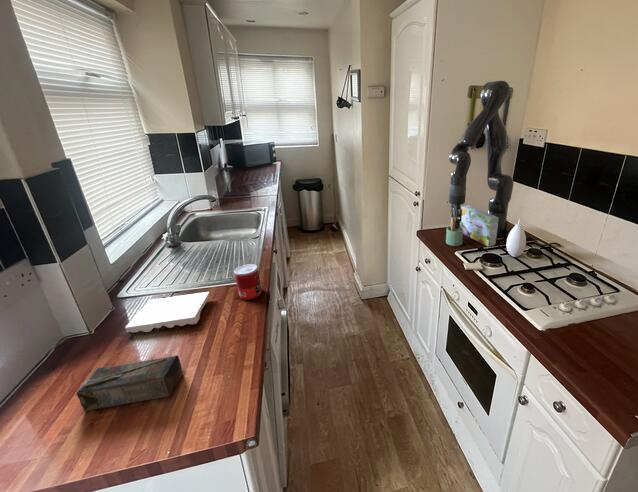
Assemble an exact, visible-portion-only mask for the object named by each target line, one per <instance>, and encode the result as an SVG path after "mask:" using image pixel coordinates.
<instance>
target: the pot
mask: <svg viewBox="0 0 638 492" xmlns="http://www.w3.org/2000/svg"><path fill="white" fill-rule="evenodd" d="M445 230H446V233H445V243H446V244H447V245H448V246H451V247H459V246H461V245H463V243H464V242H463V241H464V234H463V231H464V229H463V228H462V227H460V229H459V231H458V232H454V231H450V230H451V225H449V226H447V227H446V228H445Z"/></svg>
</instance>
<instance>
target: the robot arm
mask: <svg viewBox="0 0 638 492" xmlns="http://www.w3.org/2000/svg"><path fill="white" fill-rule="evenodd" d="M510 92H511V88H510V85H509V83H508V82H507V81H505V80H494V81H493V80H492V81H487V82H486V83H484V84H483V85H482V87H481V90H480V101H481V107H482V110H481V111H480V113H479V114H478V115H476V116H475V118H474V119H473V120H472V121H471V122H470V123H469V125H468V126H467V127H466V130H465V131H464V133H463V135H462V137H461V139H460V140H459V141H458V142H457V143H456V144H455V146H454V147H453V148H452V150H451V152H450V153H449V162H450V164H451V165H454V166H455V169H454V170H453V171H452V172H451V174H450V181H449V183H450V184H449V189H448V190H449V191H448V203H449V204H450V215H451V217H455V226H454V228H455V229H459V226H460V222H461V221H462V220H461V219H462V209H461V207H462V206H461V205H465V203H466V193H467V176H468V173H469V169H470V166H471V162H472V157H471V154H470V153H469V152H468V151H470V150H471V149H474V148H476V146H477V144H478V142H479V141H480V139H481V137H482V135H483V133H484V131H485V145H486V155H487V157H486V158H487V178H486V179H487V180H486V181H487V183H486V184H487V187H488V189H490V190H491V191H494V192H495V196H494V197H491V198H489V199H488V205H487V213H489V214H491V215H494V216H496V217H498V227H497V236H496V241H501V240H507V236H508V235H509V233H510V231H511V230H512V229H510V228H509V226H508V223H509V222H508V220H507V218H508V212H509V211H508V210H509V205H510V202H511V199H512V196H513V195H512V194H513V191H514V190H513V189H514V178H513V177H512V175H509V174H506V173H503V172H502V161H503V158H504V156H505V154H506V151H507V149H508V131H507V127H506V126H505V123H504V122H503V119H502V118H501V115H500V112H499V110H500V108H501V107H502V106H503V105H504V103H505V102H506V100H508V97H509V95H510ZM457 217H459V219H457ZM526 240H533V241H534V243H535V244H536V245H537V246H540V247H548V246H553V245H556V246H558V247H562V245H561V244H560V243H559V242H549V243H545V244H544V243H539V242H538V241H537V239H536V238H534V237H531V236H526ZM558 243H559V244H558Z"/></svg>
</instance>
